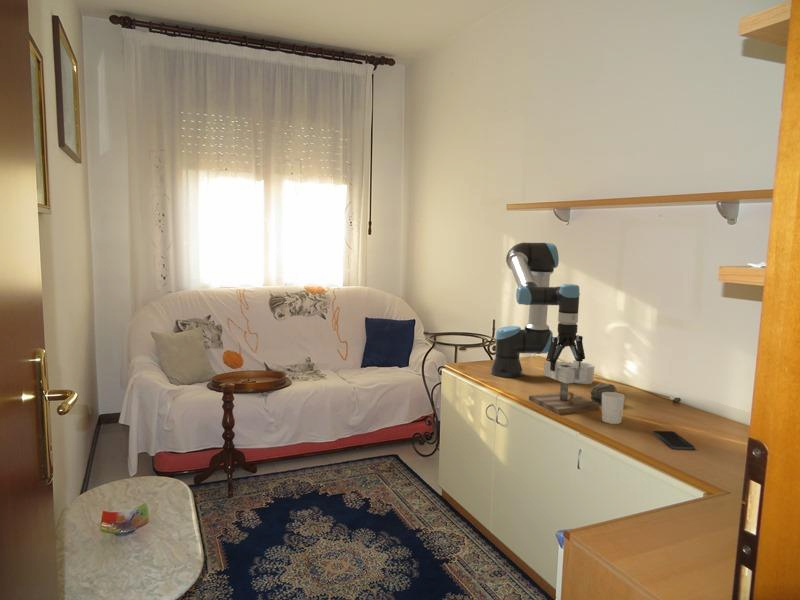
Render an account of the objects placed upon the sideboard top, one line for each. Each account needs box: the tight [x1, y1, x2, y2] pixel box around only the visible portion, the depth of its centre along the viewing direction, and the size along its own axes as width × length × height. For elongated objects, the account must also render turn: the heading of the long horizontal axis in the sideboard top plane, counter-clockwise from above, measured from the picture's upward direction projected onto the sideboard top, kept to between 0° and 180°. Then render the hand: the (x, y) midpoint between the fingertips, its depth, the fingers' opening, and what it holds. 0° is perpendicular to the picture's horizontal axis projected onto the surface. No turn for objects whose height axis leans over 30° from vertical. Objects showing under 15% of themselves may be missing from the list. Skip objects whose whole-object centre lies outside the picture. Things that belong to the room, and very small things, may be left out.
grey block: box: [543, 361, 587, 384], centre depth 223 cm, size 14×10×5 cm
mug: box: [568, 361, 595, 385], centre depth 262 cm, size 13×10×8 cm
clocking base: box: [528, 381, 601, 415], centre depth 224 cm, size 19×20×10 cm
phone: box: [652, 430, 695, 451], centre depth 186 cm, size 8×1×15 cm
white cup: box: [601, 392, 626, 425], centre depth 205 cm, size 8×8×10 cm
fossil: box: [590, 382, 618, 406], centre depth 229 cm, size 11×9×10 cm
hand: (564, 377), depth 223 cm, fingers closed on grey block, 10 cm apart
